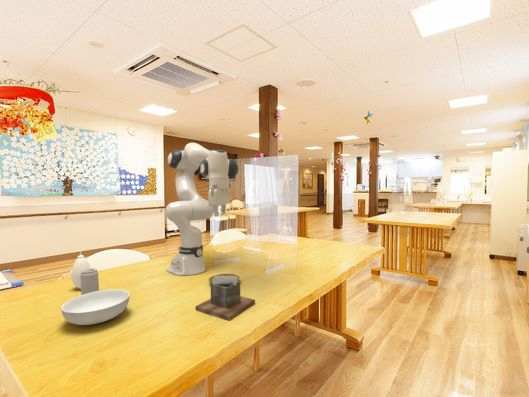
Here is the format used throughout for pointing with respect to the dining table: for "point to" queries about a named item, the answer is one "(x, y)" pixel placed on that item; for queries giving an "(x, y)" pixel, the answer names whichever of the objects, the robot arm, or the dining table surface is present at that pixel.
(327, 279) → the dining table surface
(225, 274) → the plant saucer
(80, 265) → the sauce bottle
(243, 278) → the dining table surface
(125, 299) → the serving bowl
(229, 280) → the grey t-shaped peg
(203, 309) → the square pot on base
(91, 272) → the beverage can
